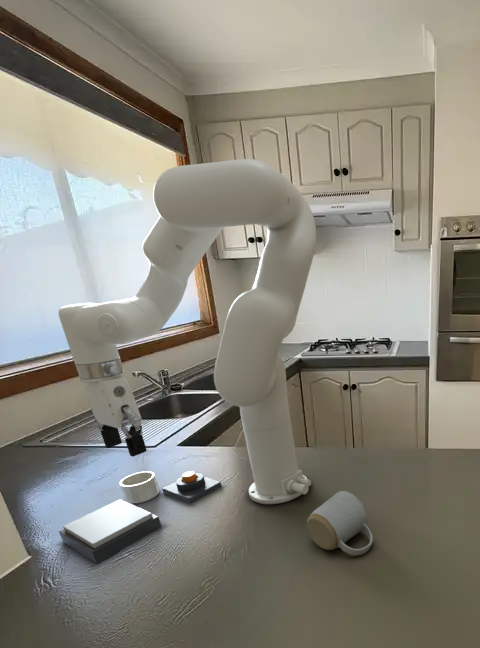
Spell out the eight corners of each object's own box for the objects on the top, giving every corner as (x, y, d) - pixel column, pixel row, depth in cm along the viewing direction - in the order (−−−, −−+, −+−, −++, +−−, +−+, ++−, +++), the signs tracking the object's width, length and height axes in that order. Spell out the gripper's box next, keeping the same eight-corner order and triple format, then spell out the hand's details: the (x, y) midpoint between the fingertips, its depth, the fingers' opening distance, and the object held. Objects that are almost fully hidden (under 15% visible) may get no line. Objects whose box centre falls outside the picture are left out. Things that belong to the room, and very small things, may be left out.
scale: (162, 527, 81) (157, 512, 80) (97, 564, 72) (90, 547, 71) (126, 511, 88) (121, 496, 87) (63, 542, 79) (56, 526, 78)
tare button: (199, 478, 94) (197, 472, 93) (188, 484, 91) (186, 477, 91) (191, 476, 95) (190, 470, 94) (180, 481, 93) (178, 475, 92)
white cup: (166, 493, 94) (160, 475, 92) (136, 508, 89) (130, 489, 87) (149, 486, 98) (143, 469, 96) (120, 500, 92) (113, 482, 91)
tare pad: (222, 487, 95) (219, 475, 94) (190, 504, 89) (187, 491, 87) (194, 478, 100) (191, 466, 99) (163, 493, 94) (160, 481, 93)
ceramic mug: (306, 544, 73) (300, 506, 70) (338, 521, 78) (333, 485, 75) (353, 567, 66) (349, 526, 63) (384, 540, 72) (381, 501, 69)
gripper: (143, 368, 81) (166, 450, 87) (99, 362, 90) (122, 436, 96) (103, 378, 75) (130, 465, 81) (59, 370, 84) (87, 449, 91)
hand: (126, 449), depth 89 cm, fingers open, 9 cm apart
